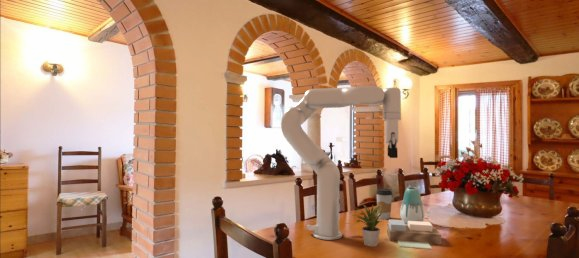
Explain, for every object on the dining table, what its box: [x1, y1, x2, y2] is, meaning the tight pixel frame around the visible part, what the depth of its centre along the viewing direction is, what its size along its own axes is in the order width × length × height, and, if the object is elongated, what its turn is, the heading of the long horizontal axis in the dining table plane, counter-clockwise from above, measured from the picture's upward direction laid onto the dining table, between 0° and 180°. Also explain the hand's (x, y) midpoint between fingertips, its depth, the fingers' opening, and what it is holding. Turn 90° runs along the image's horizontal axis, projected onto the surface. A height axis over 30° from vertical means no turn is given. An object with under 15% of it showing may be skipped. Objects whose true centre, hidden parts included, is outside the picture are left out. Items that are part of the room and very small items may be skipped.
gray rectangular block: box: [388, 219, 407, 231], centre depth 149 cm, size 9×6×2 cm, turn 169°
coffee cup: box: [375, 188, 393, 220], centre depth 183 cm, size 8×8×15 cm
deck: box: [386, 223, 442, 246], centre depth 147 cm, size 20×12×4 cm, turn 79°
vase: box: [399, 186, 425, 225], centre depth 173 cm, size 12×12×18 cm
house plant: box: [352, 204, 384, 247], centre depth 140 cm, size 14×14×16 cm
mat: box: [396, 241, 433, 250], centre depth 138 cm, size 12×7×1 cm, turn 79°
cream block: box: [407, 221, 433, 232], centre depth 148 cm, size 9×6×2 cm, turn 79°
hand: (392, 157), depth 147 cm, fingers open, 9 cm apart
